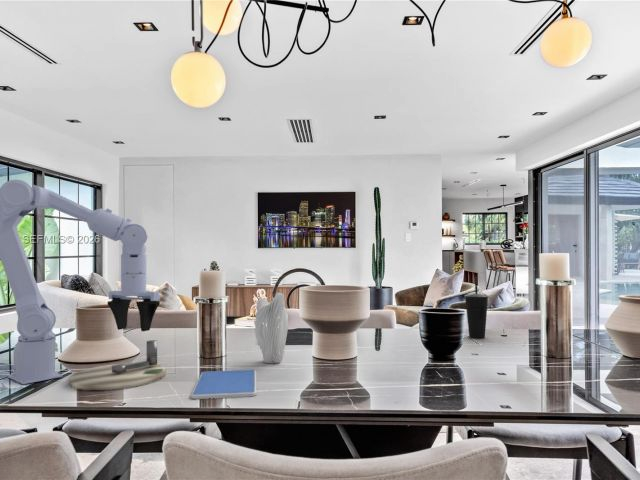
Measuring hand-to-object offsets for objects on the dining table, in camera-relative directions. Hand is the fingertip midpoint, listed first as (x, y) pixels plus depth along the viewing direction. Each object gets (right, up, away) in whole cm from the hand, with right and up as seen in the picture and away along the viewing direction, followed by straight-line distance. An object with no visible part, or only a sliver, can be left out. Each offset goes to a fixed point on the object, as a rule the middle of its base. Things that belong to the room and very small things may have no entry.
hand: (133, 329), depth 112 cm
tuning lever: (+2, -8, -5) cm, 10 cm away
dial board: (0, -9, -8) cm, 12 cm away
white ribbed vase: (+33, -10, +6) cm, 35 cm away
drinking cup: (+97, -10, +40) cm, 105 cm away
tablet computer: (+25, -10, -14) cm, 30 cm away
